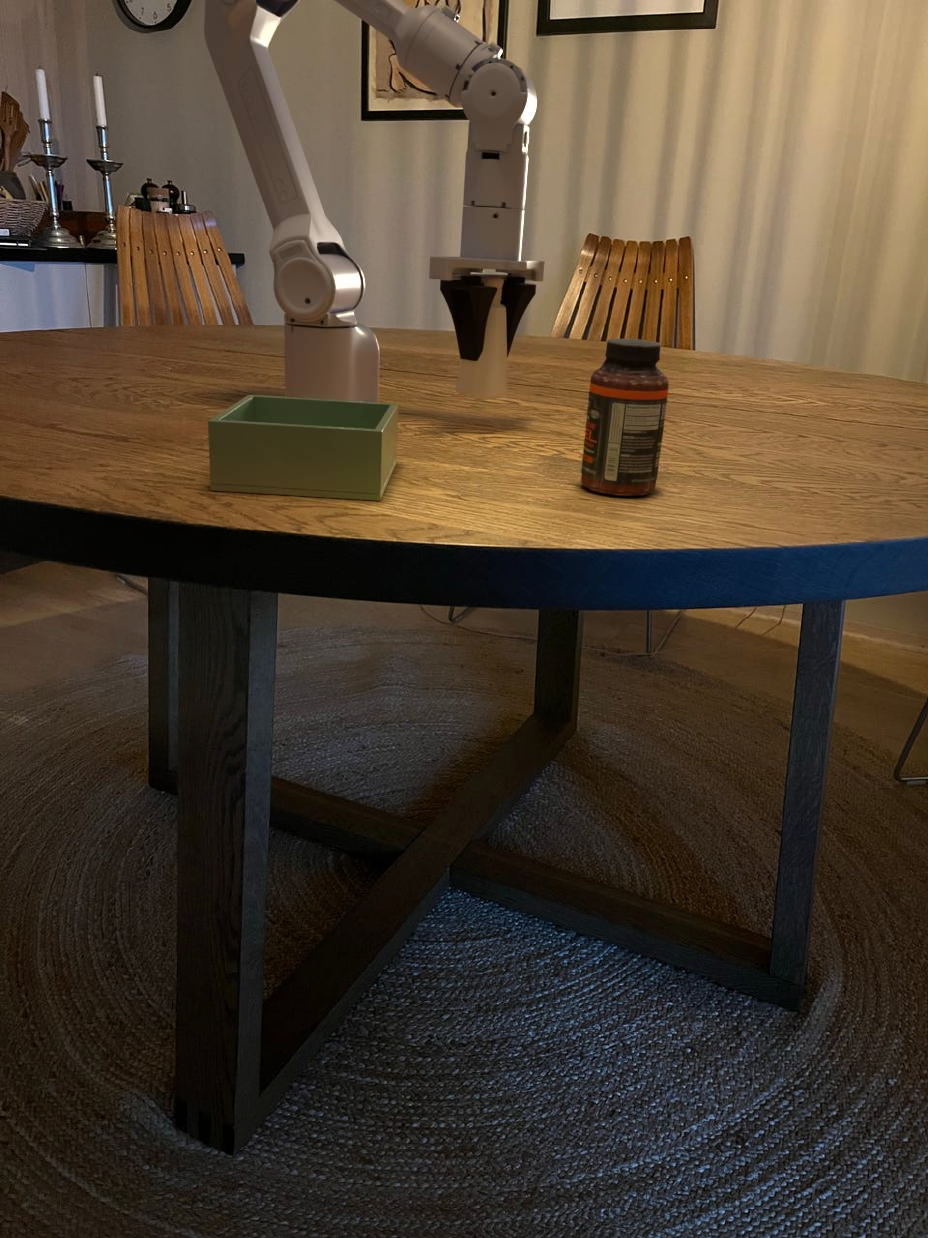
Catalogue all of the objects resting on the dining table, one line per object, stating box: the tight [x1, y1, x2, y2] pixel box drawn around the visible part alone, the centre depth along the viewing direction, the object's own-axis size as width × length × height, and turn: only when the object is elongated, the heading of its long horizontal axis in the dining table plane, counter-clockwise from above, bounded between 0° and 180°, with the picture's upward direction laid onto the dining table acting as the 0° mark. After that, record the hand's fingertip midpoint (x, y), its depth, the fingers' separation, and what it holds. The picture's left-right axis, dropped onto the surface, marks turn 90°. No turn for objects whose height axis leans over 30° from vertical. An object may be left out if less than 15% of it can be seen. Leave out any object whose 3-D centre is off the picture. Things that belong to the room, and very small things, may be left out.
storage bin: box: [207, 394, 399, 502], centre depth 76 cm, size 12×12×5 cm
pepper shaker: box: [455, 277, 509, 400], centre depth 96 cm, size 5×5×11 cm
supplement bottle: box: [580, 338, 670, 497], centre depth 77 cm, size 6×6×11 cm
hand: (483, 358), depth 97 cm, fingers closed on pepper shaker, 3 cm apart
